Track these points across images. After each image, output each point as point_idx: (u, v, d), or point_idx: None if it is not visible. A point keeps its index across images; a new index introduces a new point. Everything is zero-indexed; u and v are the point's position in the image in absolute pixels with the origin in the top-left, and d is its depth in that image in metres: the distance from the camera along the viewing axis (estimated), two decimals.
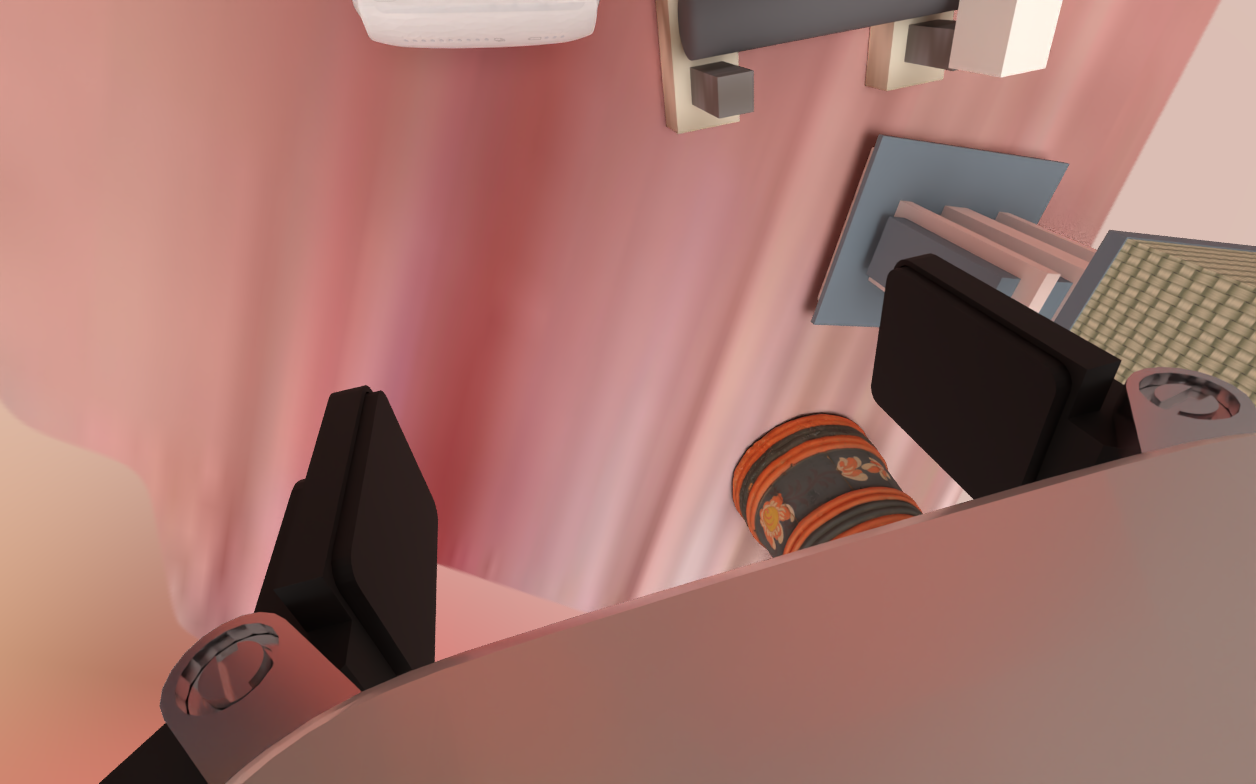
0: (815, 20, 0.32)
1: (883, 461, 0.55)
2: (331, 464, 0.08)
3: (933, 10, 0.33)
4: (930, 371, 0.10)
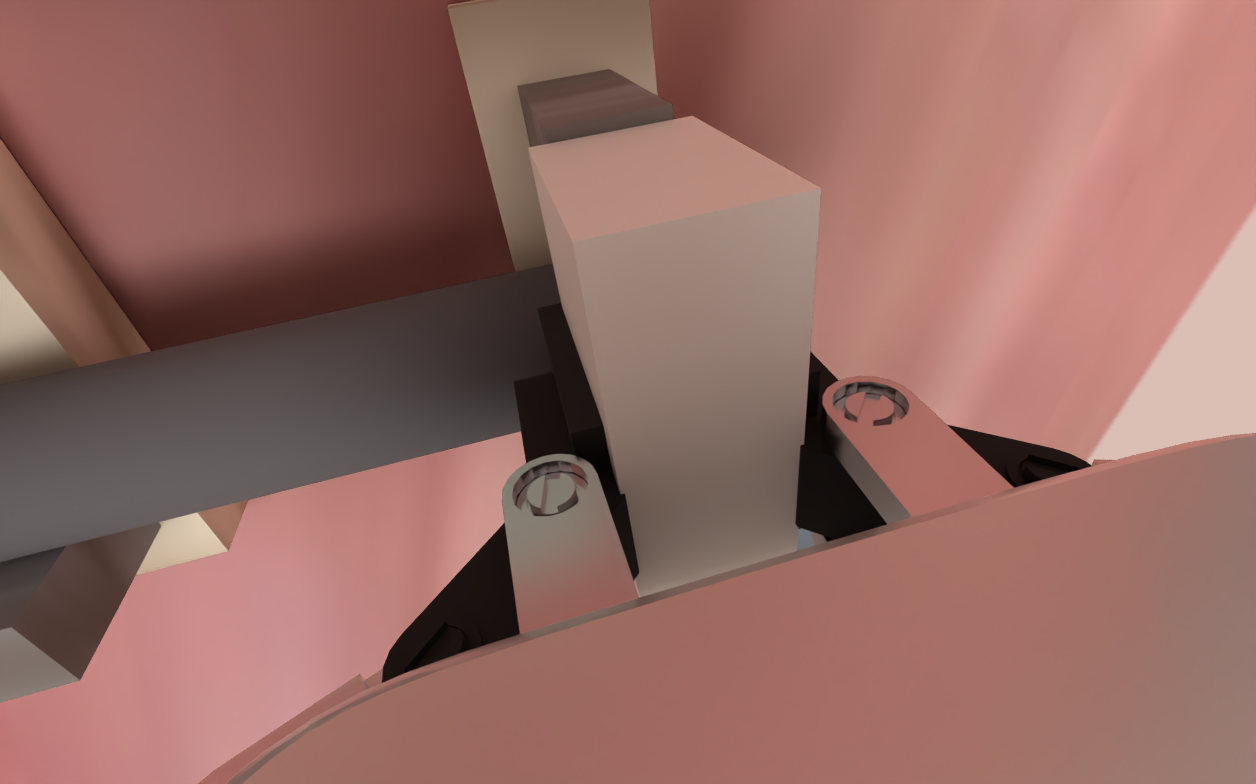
0: (234, 502, 0.13)
1: None
2: (569, 354, 0.09)
3: None
4: None
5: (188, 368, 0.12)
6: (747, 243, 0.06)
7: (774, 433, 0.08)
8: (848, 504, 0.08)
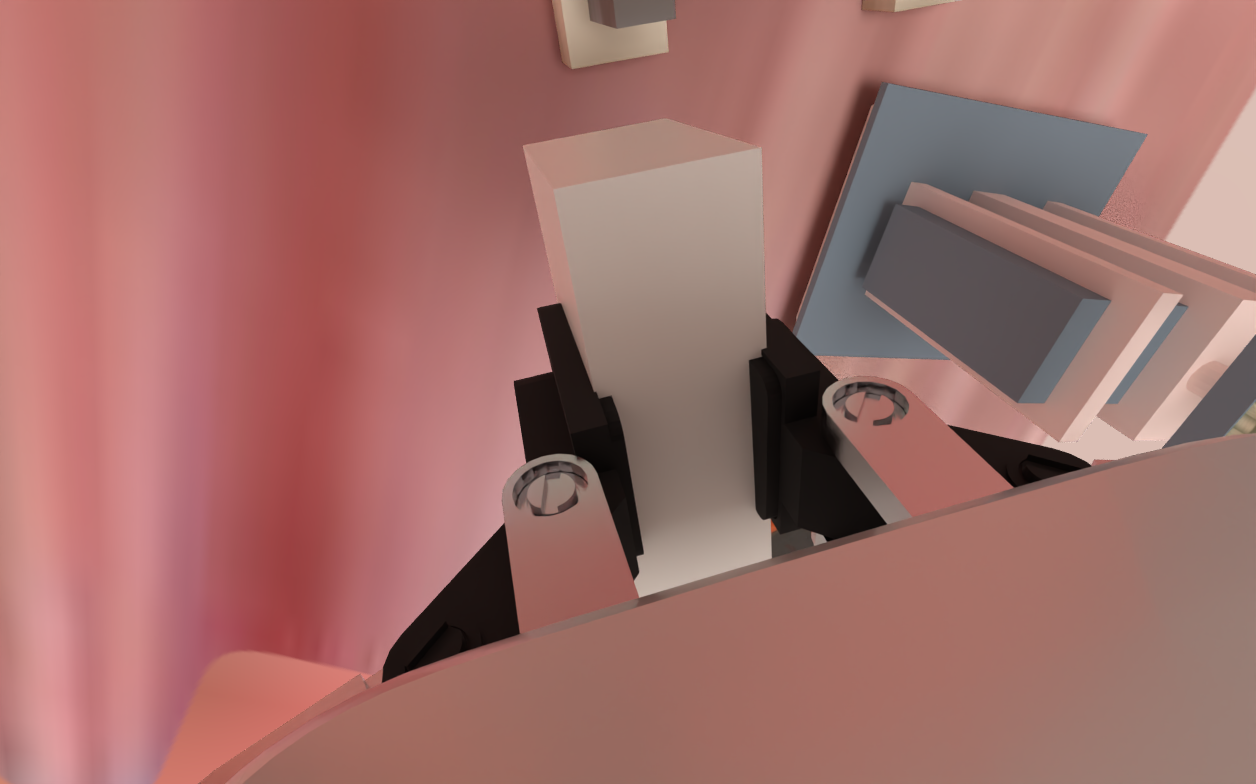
0: None
1: None
2: (569, 354, 0.09)
3: None
4: None
5: None
6: (701, 194, 0.07)
7: (739, 377, 0.09)
8: (848, 504, 0.08)
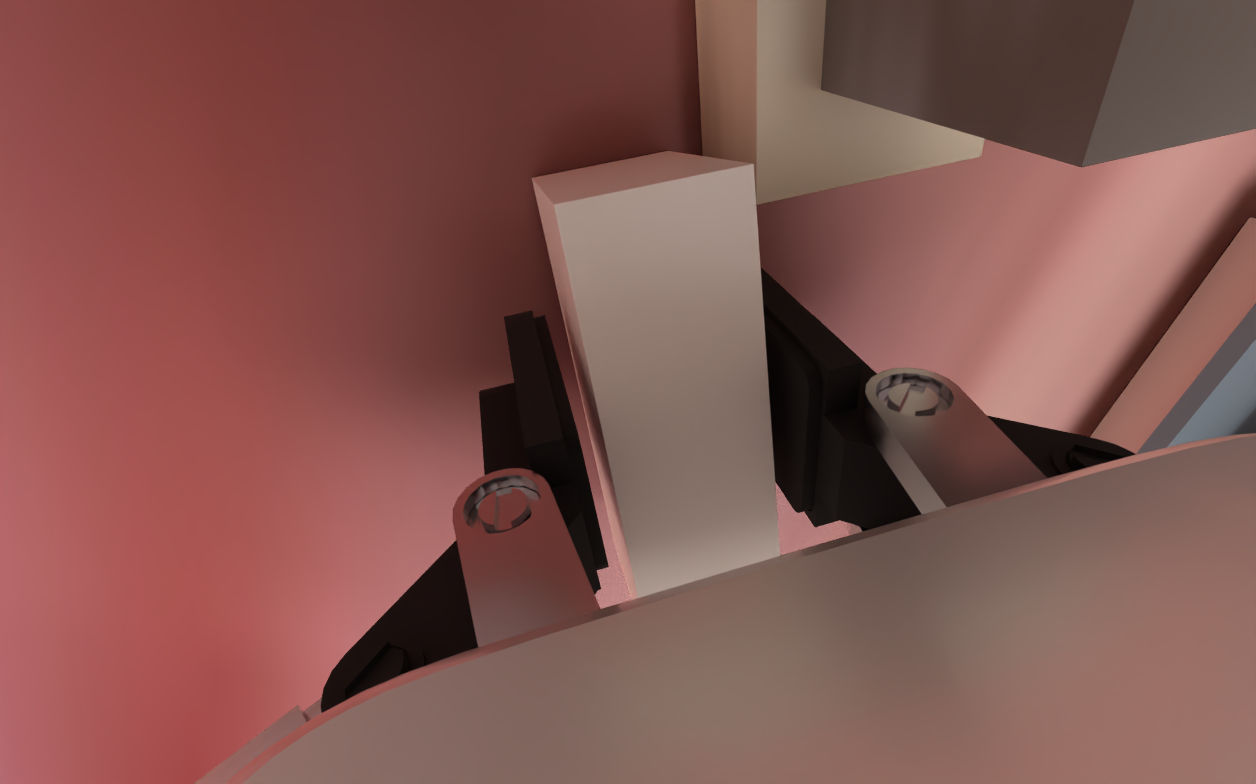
0: None
1: None
2: (531, 365, 0.09)
3: None
4: None
5: None
6: (696, 209, 0.08)
7: (740, 391, 0.09)
8: (885, 493, 0.08)
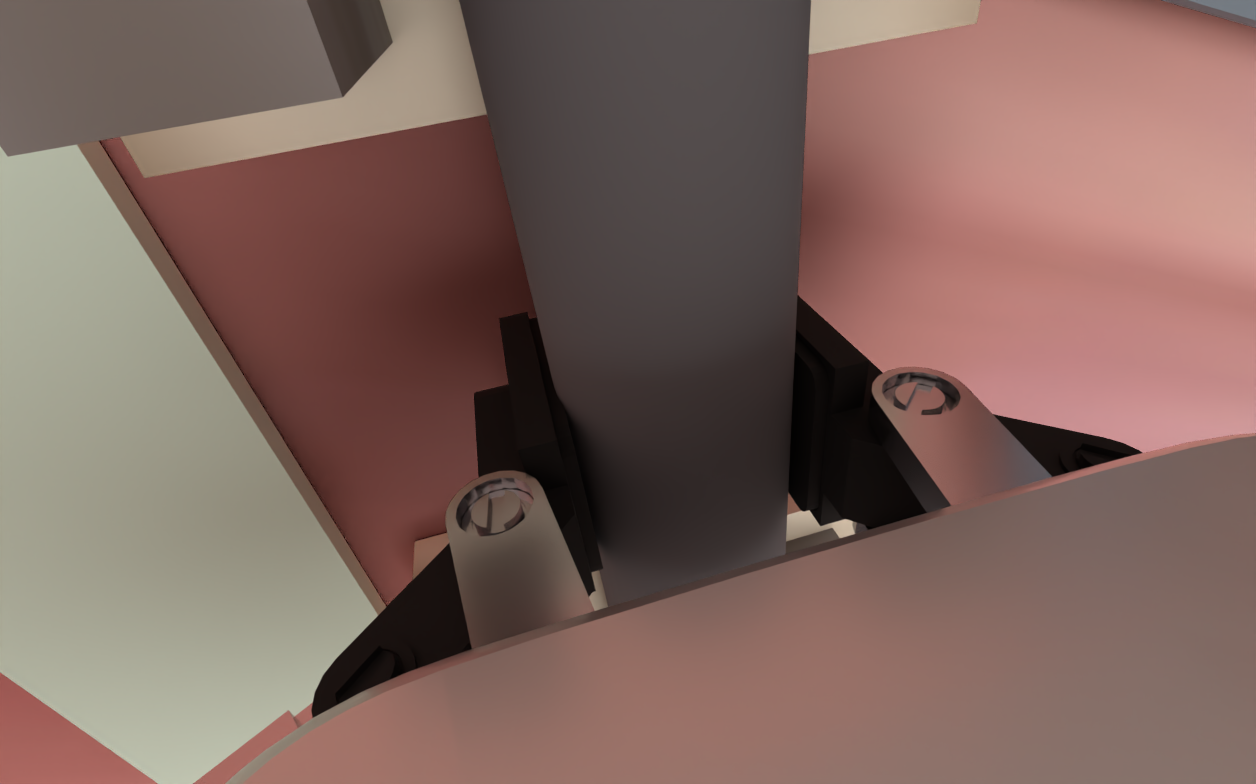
0: None
1: None
2: (526, 367, 0.09)
3: None
4: None
5: None
6: None
7: None
8: (890, 492, 0.08)
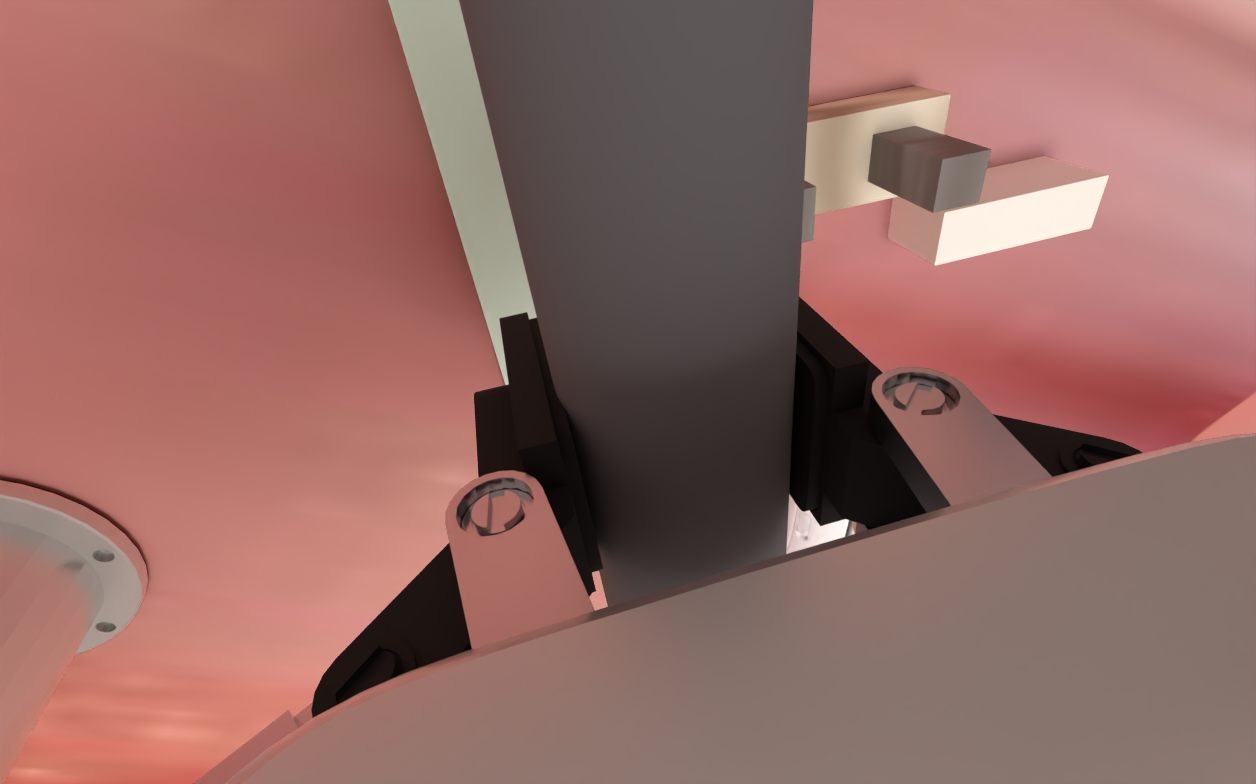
0: None
1: None
2: (526, 366, 0.09)
3: None
4: None
5: None
6: (949, 227, 0.27)
7: (1004, 207, 0.28)
8: (890, 492, 0.08)
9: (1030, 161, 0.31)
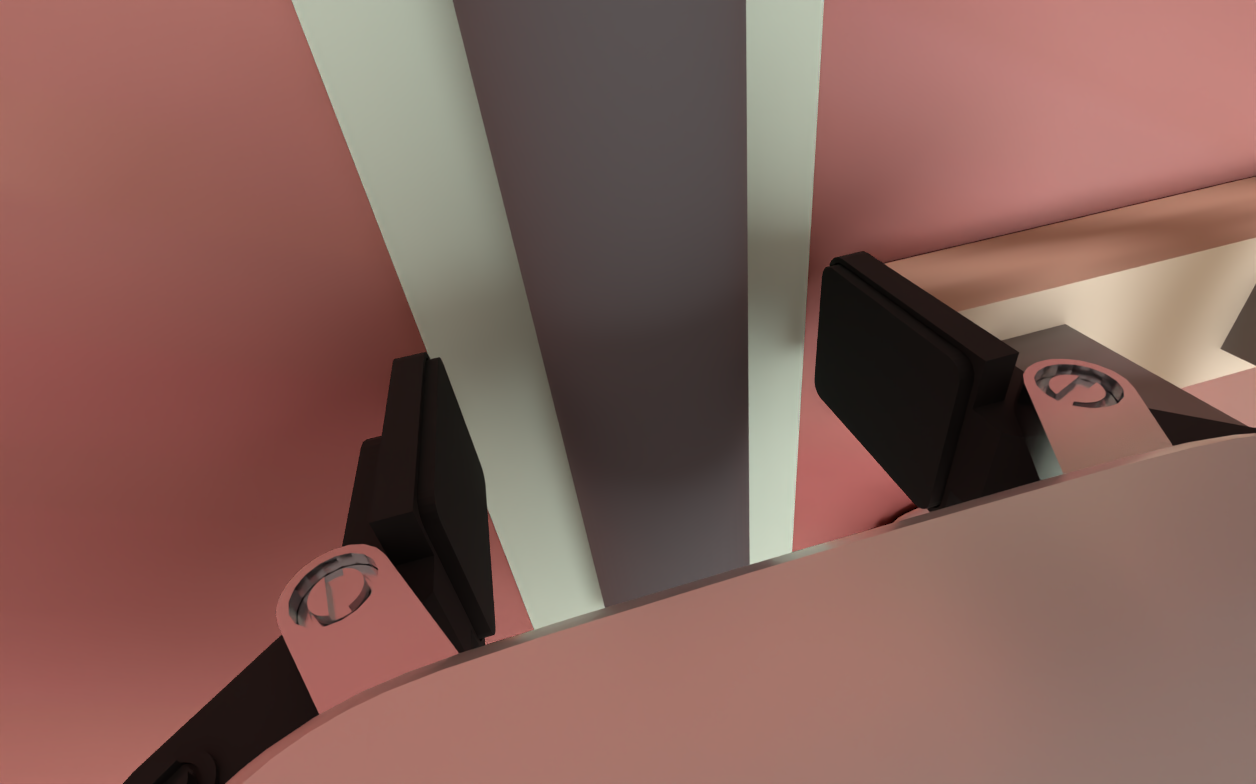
0: (729, 507, 0.11)
1: None
2: (405, 419, 0.08)
3: (742, 39, 0.07)
4: (861, 365, 0.11)
5: (572, 477, 0.12)
6: None
7: None
8: (1022, 481, 0.08)
9: None
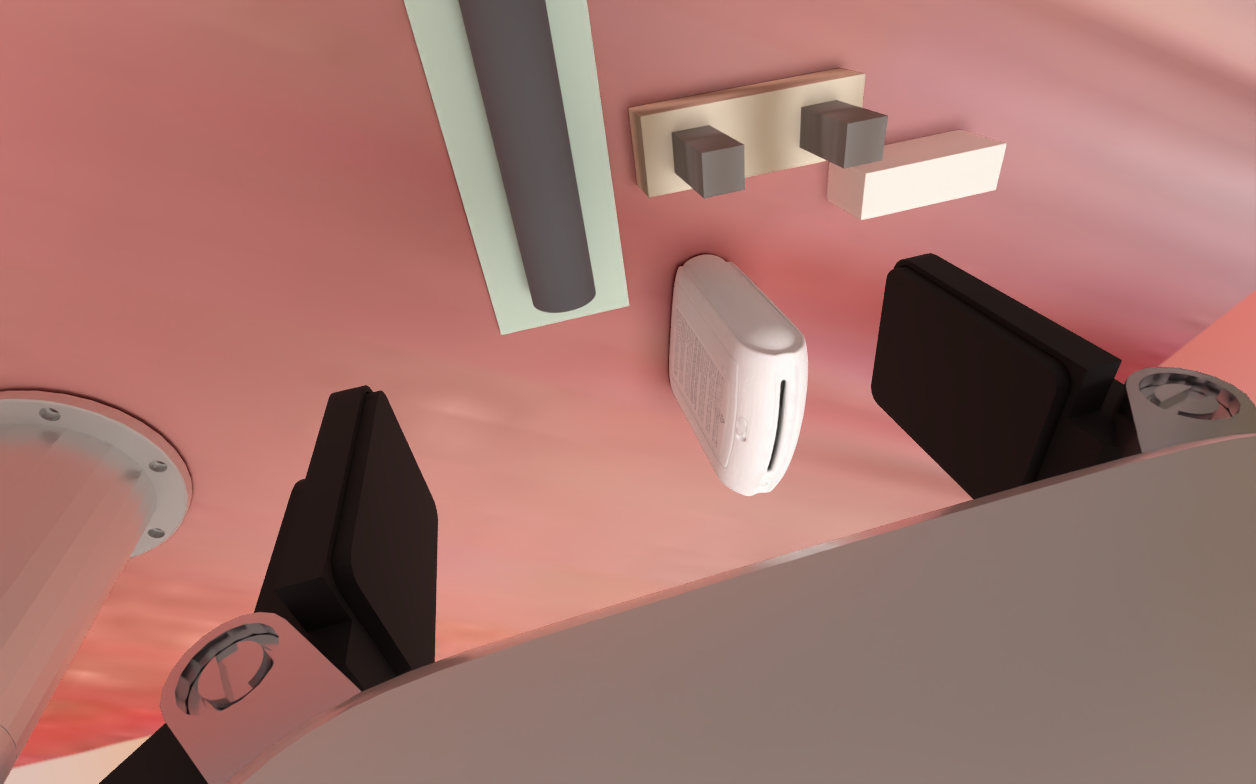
0: (564, 184, 0.29)
1: None
2: (331, 464, 0.08)
3: None
4: (930, 371, 0.10)
5: (503, 180, 0.29)
6: (871, 187, 0.33)
7: (917, 170, 0.33)
8: None
9: (947, 134, 0.36)
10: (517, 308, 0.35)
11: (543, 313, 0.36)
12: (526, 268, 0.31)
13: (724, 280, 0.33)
